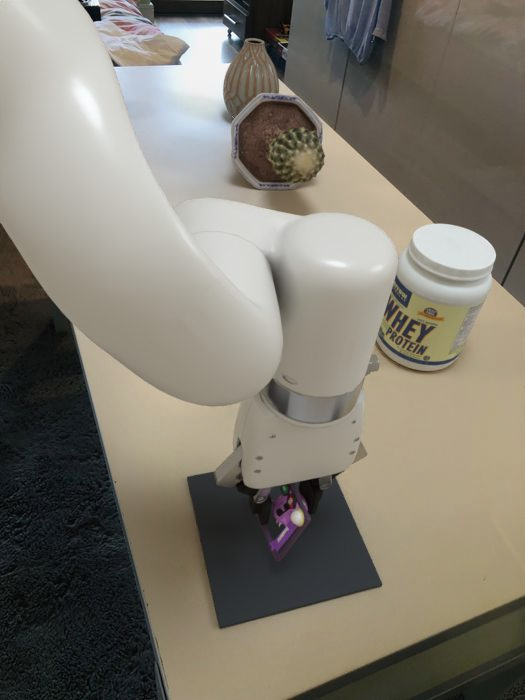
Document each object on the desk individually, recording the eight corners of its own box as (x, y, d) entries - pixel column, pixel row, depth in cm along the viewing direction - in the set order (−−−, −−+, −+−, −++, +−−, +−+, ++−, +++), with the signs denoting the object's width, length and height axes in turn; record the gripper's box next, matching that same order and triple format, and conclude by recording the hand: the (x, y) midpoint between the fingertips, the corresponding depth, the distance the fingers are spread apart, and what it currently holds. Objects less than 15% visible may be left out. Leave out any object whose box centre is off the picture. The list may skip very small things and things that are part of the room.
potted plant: (220, 83, 109) (256, 101, 84) (306, 90, 114) (364, 108, 89) (217, 174, 118) (248, 215, 93) (297, 177, 122) (347, 216, 97)
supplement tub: (356, 340, 79) (384, 239, 68) (404, 306, 86) (438, 209, 74) (428, 388, 74) (472, 287, 62) (474, 348, 80) (521, 250, 69)
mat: (219, 629, 49) (220, 627, 49) (186, 479, 60) (186, 476, 60) (381, 586, 53) (382, 584, 53) (323, 453, 64) (324, 450, 64)
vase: (213, 112, 136) (216, 33, 124) (261, 108, 141) (268, 31, 129) (234, 133, 128) (239, 51, 116) (284, 128, 133) (294, 49, 121)
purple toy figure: (261, 439, 53) (301, 521, 47) (304, 437, 56) (347, 514, 50) (235, 483, 56) (269, 564, 50) (277, 479, 59) (314, 555, 53)
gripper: (390, 330, 46) (347, 459, 59) (190, 357, 42) (190, 490, 54) (434, 396, 41) (377, 522, 53) (211, 435, 37) (206, 562, 49)
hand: (283, 505), depth 54 cm, fingers closed on purple toy figure, 4 cm apart
